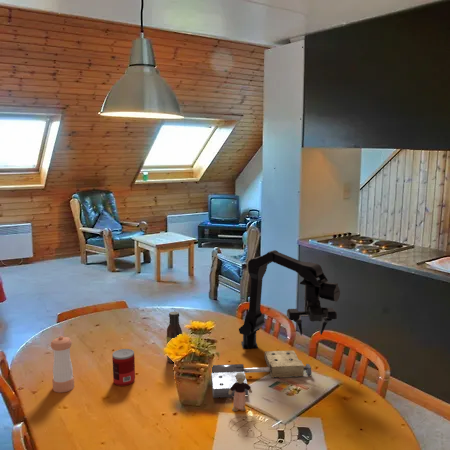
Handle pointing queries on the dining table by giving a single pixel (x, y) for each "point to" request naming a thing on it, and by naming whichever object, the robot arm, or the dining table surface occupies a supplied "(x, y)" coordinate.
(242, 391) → the grandmother figurine
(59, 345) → the pepper shaker
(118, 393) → the dining table surface
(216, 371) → the fixed leaf
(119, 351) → the canned food
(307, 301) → the robot arm
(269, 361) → the beige block with rivets
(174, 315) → the sauce bottle
